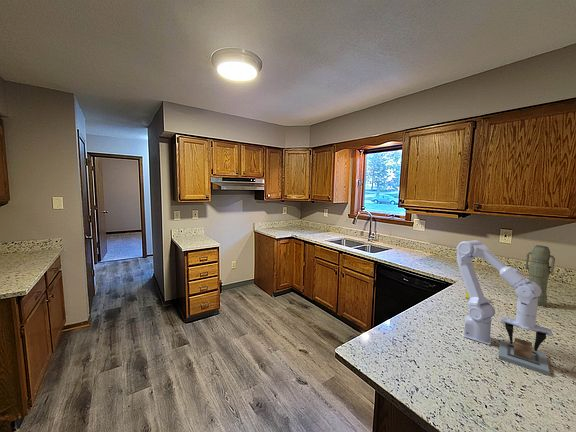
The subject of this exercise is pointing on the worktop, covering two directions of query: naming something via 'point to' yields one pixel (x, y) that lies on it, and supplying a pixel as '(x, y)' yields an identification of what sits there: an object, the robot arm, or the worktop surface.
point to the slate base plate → (535, 364)
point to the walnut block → (523, 348)
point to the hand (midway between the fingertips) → (523, 346)
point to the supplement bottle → (467, 295)
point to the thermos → (540, 270)
